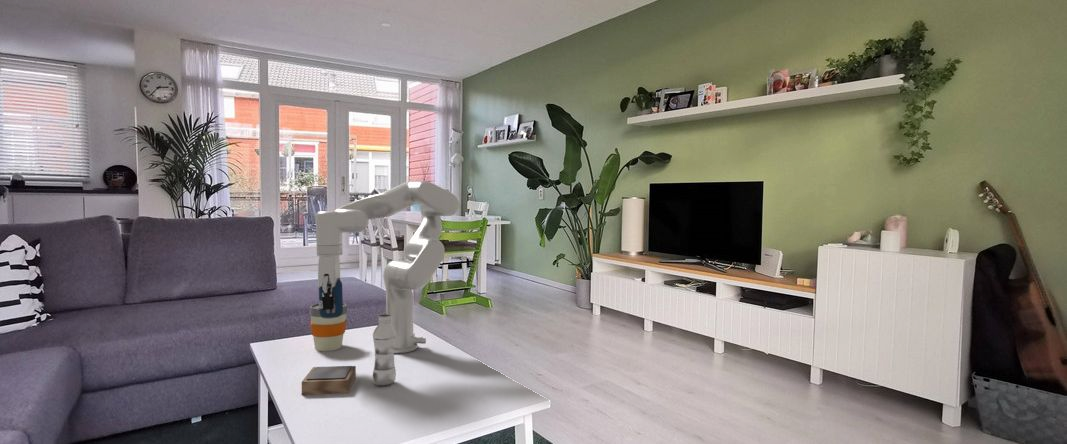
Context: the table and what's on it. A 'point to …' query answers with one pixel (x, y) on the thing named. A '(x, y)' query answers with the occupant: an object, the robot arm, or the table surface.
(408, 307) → the robot arm
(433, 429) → the table surface
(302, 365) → the table surface
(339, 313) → the soda can
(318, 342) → the reusable coffee cup
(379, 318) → the plastic bottle
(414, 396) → the table surface
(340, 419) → the table surface
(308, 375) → the walnut base
